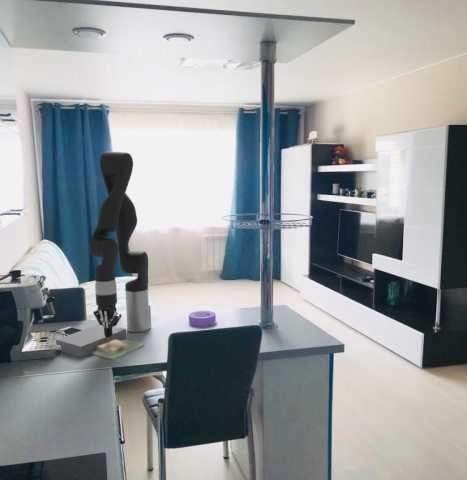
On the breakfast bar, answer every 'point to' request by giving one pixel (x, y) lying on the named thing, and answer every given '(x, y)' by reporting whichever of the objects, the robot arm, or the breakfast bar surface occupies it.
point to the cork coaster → (113, 346)
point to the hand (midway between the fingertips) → (108, 336)
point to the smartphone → (70, 330)
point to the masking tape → (202, 318)
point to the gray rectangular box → (88, 340)
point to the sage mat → (133, 347)
